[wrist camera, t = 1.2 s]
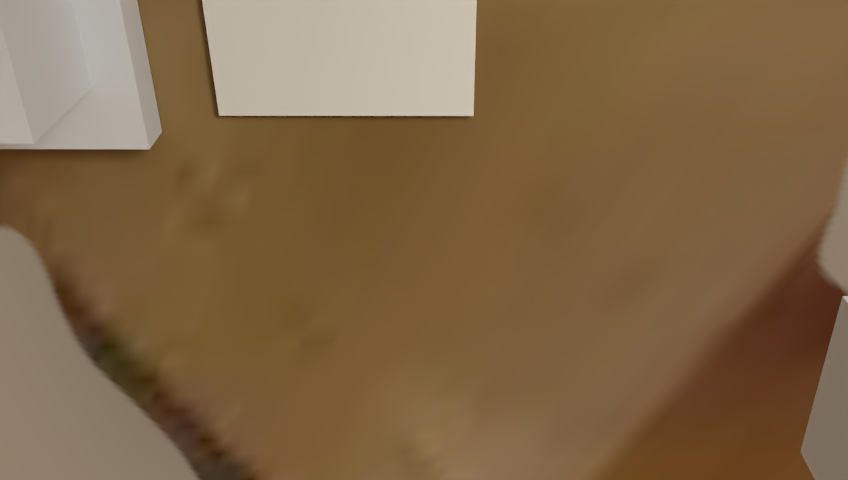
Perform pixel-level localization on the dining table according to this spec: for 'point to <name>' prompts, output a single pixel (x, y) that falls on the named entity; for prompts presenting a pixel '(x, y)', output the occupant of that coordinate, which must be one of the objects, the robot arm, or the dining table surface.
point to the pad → (342, 57)
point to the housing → (75, 76)
